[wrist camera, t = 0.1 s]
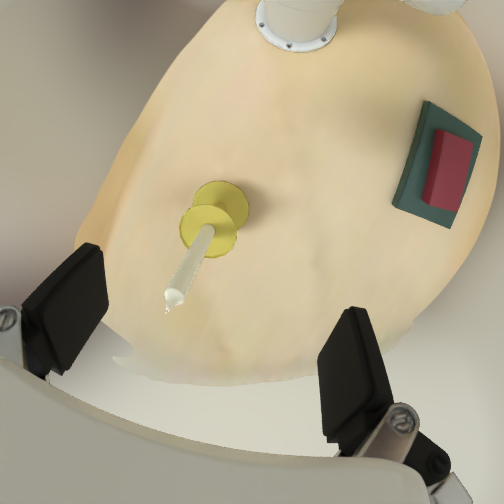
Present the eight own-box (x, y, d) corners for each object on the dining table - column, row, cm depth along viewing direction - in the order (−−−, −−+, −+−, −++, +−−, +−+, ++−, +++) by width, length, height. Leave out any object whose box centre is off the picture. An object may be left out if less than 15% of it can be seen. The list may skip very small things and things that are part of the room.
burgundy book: (435, 128, 34) (444, 130, 31) (464, 140, 34) (473, 143, 31) (421, 199, 40) (428, 205, 38) (449, 206, 40) (457, 212, 38)
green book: (423, 101, 34) (429, 101, 32) (476, 134, 34) (482, 136, 32) (391, 203, 44) (395, 207, 42) (445, 225, 44) (449, 229, 42)
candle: (254, 230, 48) (231, 348, 25) (201, 238, 50) (144, 349, 27) (242, 175, 44) (200, 260, 20) (186, 187, 46) (101, 273, 22)
